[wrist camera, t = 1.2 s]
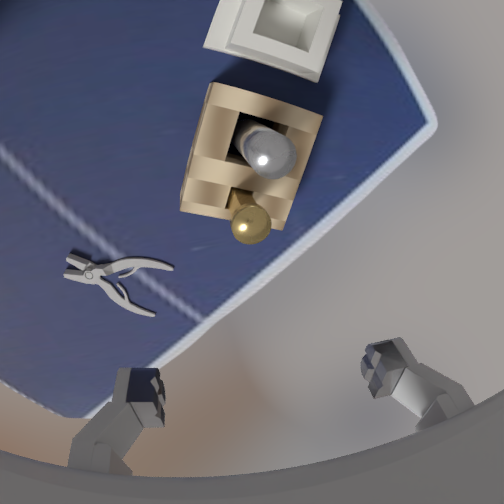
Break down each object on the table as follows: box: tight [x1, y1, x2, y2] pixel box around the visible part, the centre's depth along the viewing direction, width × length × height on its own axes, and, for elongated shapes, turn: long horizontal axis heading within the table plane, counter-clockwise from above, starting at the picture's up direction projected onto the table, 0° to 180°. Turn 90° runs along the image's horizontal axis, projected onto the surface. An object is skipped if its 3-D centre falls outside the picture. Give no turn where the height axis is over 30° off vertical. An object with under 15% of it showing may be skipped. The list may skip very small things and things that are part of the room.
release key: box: [227, 187, 272, 244], centre depth 31 cm, size 4×4×8 cm
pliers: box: [64, 253, 173, 317], centre depth 41 cm, size 10×2×15 cm
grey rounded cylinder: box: [231, 119, 297, 179], centre depth 30 cm, size 4×4×12 cm
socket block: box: [180, 82, 323, 230], centre depth 34 cm, size 12×14×6 cm
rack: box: [203, 0, 342, 83], centre depth 27 cm, size 14×10×6 cm
